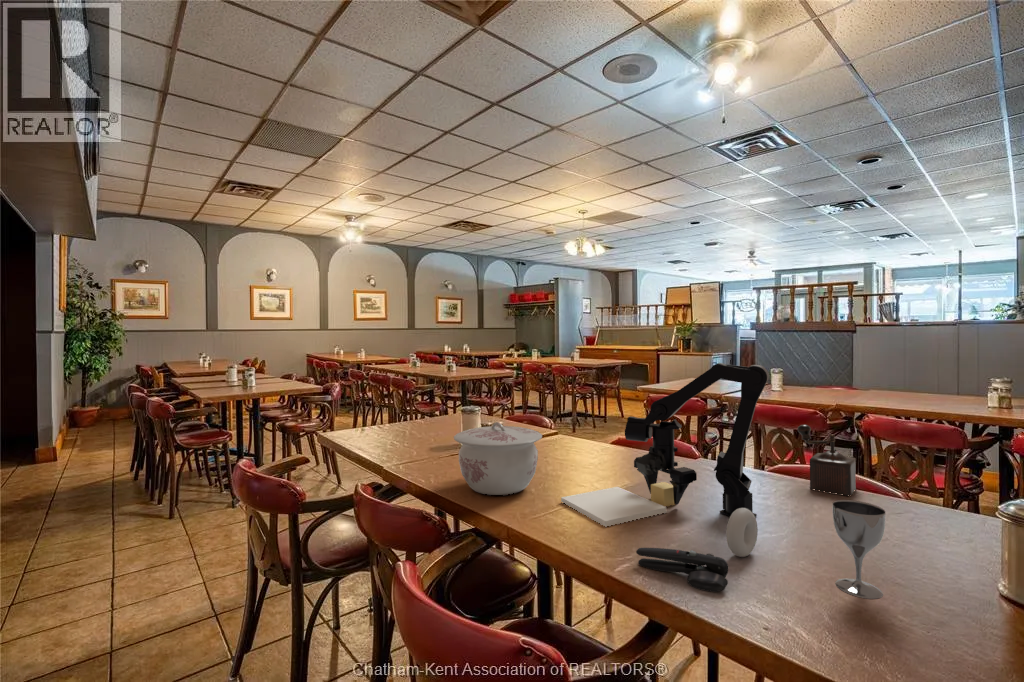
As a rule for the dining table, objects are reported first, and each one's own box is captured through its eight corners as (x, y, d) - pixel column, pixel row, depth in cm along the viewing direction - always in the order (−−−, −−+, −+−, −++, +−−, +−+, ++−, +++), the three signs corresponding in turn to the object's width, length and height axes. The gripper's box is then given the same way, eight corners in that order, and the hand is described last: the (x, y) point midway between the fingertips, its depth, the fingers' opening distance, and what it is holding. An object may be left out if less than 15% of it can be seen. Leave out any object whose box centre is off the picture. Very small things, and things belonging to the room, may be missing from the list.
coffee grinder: (857, 488, 146) (857, 428, 146) (850, 497, 138) (850, 434, 138) (799, 478, 157) (798, 422, 156) (789, 486, 149) (789, 427, 148)
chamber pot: (528, 508, 132) (527, 433, 132) (438, 499, 141) (437, 428, 141) (553, 479, 159) (552, 416, 158) (476, 472, 168) (475, 413, 167)
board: (666, 512, 128) (666, 507, 128) (605, 527, 119) (605, 521, 119) (617, 491, 146) (617, 486, 146) (561, 502, 137) (561, 497, 137)
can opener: (733, 582, 92) (733, 553, 92) (724, 599, 86) (723, 567, 86) (643, 558, 103) (643, 531, 103) (630, 571, 97) (630, 543, 97)
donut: (744, 546, 107) (744, 501, 107) (760, 551, 105) (760, 505, 105) (723, 560, 101) (722, 512, 101) (740, 565, 98) (739, 516, 98)
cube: (677, 504, 134) (677, 486, 134) (663, 507, 132) (663, 489, 132) (664, 499, 139) (664, 481, 139) (650, 502, 136) (650, 484, 136)
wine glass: (863, 577, 93) (862, 499, 93) (897, 599, 85) (897, 514, 85) (822, 578, 93) (822, 500, 93) (853, 601, 85) (853, 515, 85)
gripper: (619, 440, 140) (619, 494, 140) (666, 454, 123) (667, 515, 123) (648, 436, 145) (649, 488, 145) (697, 449, 128) (698, 507, 128)
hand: (664, 499), depth 135 cm, fingers open, 9 cm apart
